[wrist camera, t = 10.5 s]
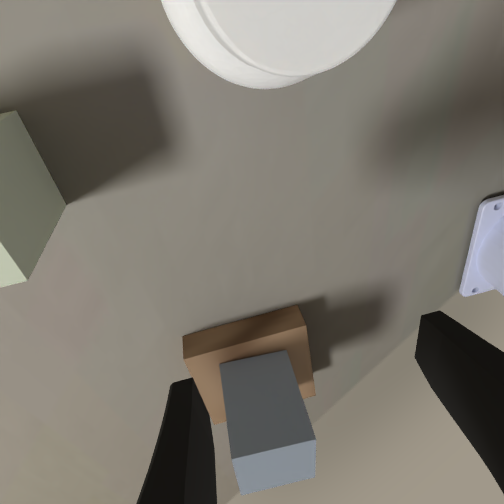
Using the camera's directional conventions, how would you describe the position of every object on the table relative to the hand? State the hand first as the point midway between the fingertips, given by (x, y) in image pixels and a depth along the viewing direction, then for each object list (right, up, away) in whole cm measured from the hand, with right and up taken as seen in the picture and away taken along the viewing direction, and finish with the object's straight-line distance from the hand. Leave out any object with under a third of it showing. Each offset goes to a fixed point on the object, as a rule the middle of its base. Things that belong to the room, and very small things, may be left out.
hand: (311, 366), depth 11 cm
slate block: (-2, -5, +14) cm, 15 cm away
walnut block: (-2, -4, +16) cm, 16 cm away
